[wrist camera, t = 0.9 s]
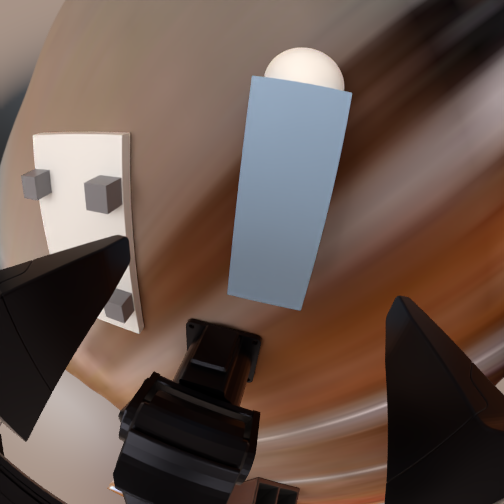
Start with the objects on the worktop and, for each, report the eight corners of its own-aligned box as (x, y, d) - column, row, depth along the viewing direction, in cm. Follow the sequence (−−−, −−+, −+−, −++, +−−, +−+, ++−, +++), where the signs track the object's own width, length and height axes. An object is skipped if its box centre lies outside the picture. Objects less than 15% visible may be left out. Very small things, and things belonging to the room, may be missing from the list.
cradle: (144, 327, 27) (130, 346, 25) (69, 299, 28) (54, 314, 26) (130, 132, 18) (105, 140, 16) (40, 132, 19) (17, 140, 17)
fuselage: (304, 273, 21) (300, 310, 17) (242, 260, 21) (227, 294, 18) (349, 62, 13) (358, 51, 10) (270, 48, 14) (257, 35, 10)
